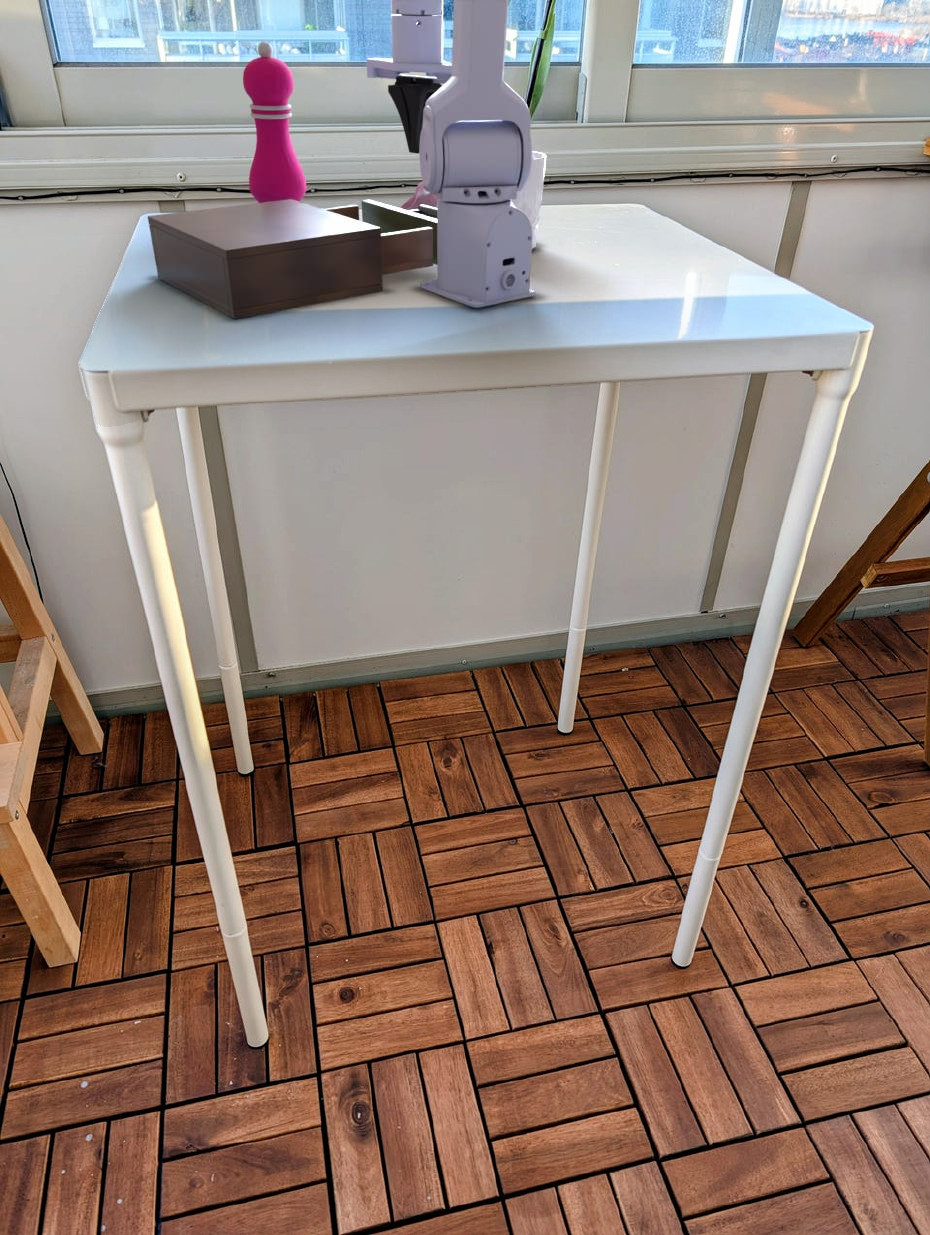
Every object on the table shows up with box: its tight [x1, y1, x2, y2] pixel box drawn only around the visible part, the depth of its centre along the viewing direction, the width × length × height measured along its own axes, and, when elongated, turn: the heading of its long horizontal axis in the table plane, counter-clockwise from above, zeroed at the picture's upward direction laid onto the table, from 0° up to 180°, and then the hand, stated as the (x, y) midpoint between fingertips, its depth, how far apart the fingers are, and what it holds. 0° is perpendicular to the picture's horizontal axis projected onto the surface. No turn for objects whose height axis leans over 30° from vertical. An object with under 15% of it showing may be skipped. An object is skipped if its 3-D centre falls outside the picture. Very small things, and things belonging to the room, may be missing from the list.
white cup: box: [512, 150, 547, 250], centre depth 106 cm, size 8×8×10 cm
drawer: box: [323, 199, 437, 276], centre depth 98 cm, size 20×16×4 cm
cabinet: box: [147, 199, 384, 320], centre depth 92 cm, size 17×18×6 cm
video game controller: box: [399, 181, 437, 211], centre depth 114 cm, size 10×5×7 cm, turn 179°
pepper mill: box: [242, 41, 307, 203], centre depth 112 cm, size 7×7×20 cm
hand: (418, 152), depth 107 cm, fingers closed
